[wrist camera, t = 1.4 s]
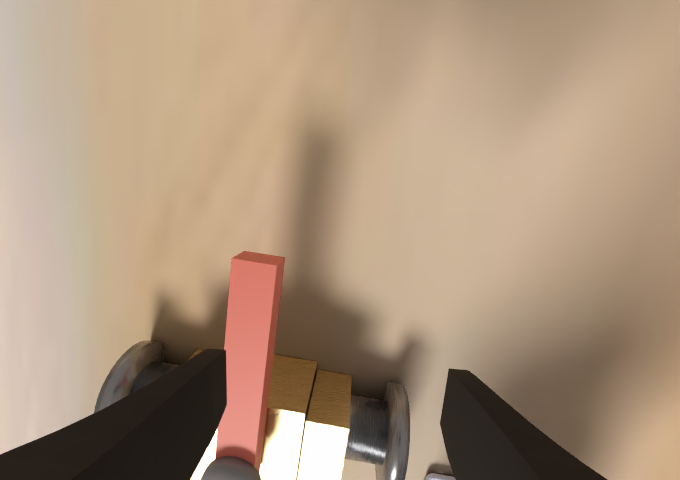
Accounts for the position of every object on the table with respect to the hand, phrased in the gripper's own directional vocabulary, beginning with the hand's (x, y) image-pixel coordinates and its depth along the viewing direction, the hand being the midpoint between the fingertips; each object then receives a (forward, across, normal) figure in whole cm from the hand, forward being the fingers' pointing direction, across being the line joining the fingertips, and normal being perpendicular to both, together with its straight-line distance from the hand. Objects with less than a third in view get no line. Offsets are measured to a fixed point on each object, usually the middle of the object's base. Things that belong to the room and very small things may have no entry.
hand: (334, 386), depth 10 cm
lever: (+5, +4, +4) cm, 8 cm away
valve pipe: (+12, +5, +9) cm, 16 cm away
